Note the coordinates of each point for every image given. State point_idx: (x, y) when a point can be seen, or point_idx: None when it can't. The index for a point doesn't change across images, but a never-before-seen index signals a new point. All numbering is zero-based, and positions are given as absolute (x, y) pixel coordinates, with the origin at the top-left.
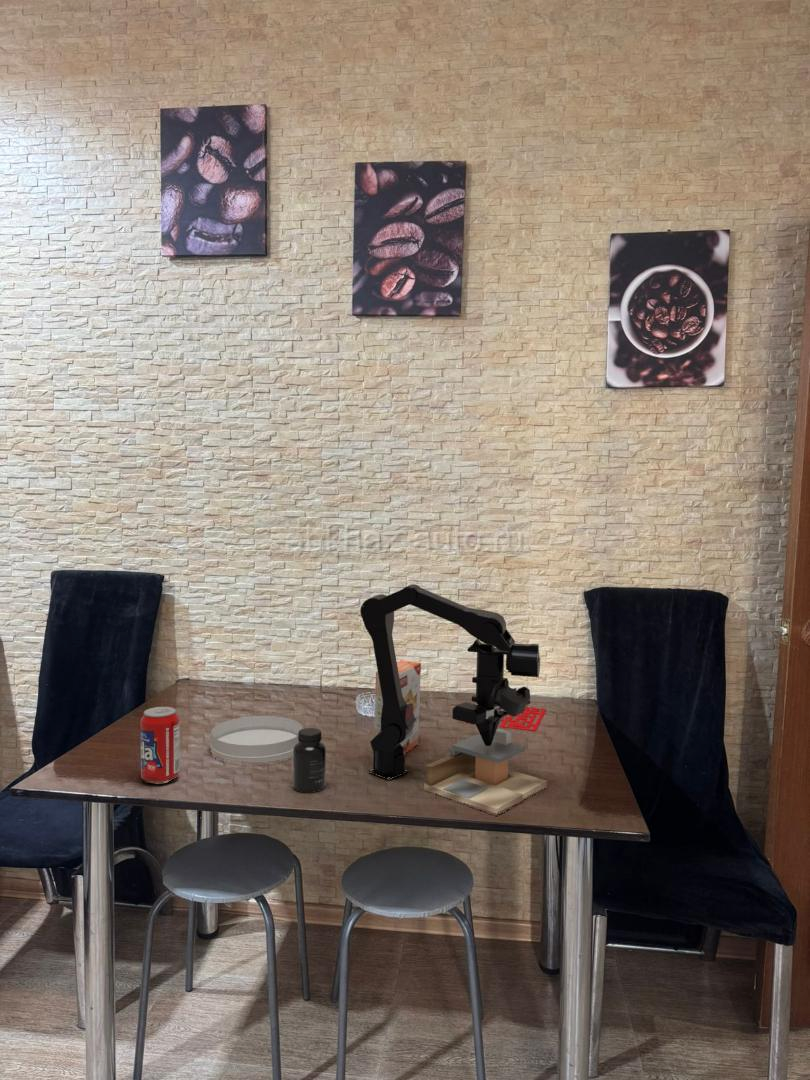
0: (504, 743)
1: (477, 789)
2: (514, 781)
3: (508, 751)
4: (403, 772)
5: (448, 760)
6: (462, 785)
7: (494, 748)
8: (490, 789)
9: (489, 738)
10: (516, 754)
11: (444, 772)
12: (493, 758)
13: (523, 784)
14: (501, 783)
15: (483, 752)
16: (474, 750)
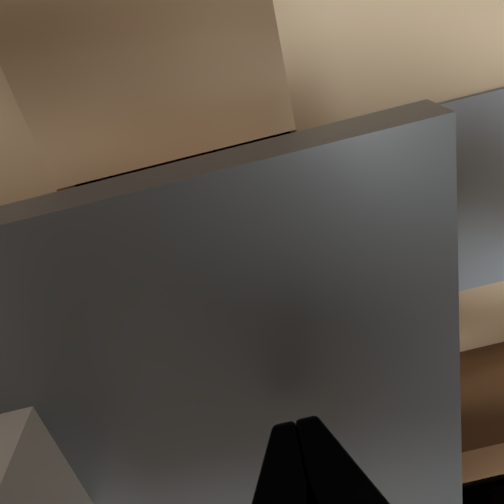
0: (37, 430)
1: (465, 137)
2: (121, 109)
3: (143, 246)
4: (497, 489)
5: (493, 441)
6: (480, 237)
7: (228, 383)
8: (382, 96)
9: (371, 490)
10: (29, 200)
11: (495, 379)
12: (448, 188)
13: (91, 16)
14: (236, 135)
15: (416, 352)
16: (437, 423)
